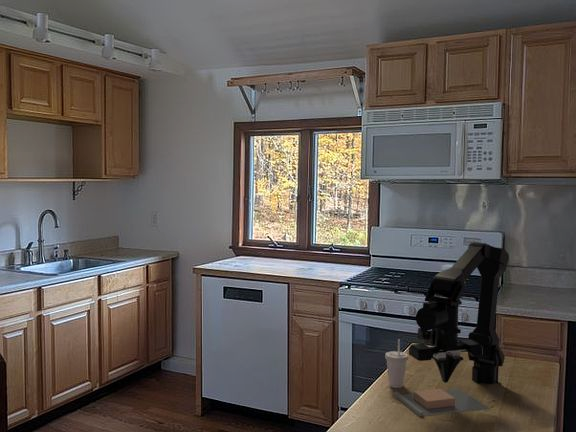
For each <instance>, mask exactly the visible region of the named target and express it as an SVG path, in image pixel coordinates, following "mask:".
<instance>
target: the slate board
mask: <svg viewBox="0 0 576 432" xmlns="http://www.w3.org/2000/svg"><path fill="white" fill-rule="evenodd" d="M443 390H444V391H445V392H447V393H448V394H449V395H451V396H452V397H454V398H455V406H450V407H441V408H432V409H426V408H425V407H424V406H422V405H421V404H420V403H418V402H417V401H416V400H415V399H414V393H409V394H401V393H400V392H399V391H394V393H393V394H394V396H393V397H395V398H396V399H397V400H399V401H400V402H401V403H402V404H404V405H405V407H407V408H408V409H409V410H410V411H412V412H413V413H414V414H416V415H417V416H418V417H419V418H422V417H431V416H440V415H446V414H454V413H455V414H456V413H465V412H470V411H471V412H473V411H480V410H490V409H491V407H489V406H487V405H486V404H484V403H482V401H480V400H478V399H477V398H475V397H473V396H471V394H469V393H467V392H466V391H464V390H463V389H461V388H455V389H443Z"/></svg>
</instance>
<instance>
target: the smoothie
mask: <svg viewBox="0 0 576 432" xmlns="http://www.w3.org/2000/svg"><path fill="white" fill-rule="evenodd" d="M400 348H401V339H400V338H398V339H397V351H395V350H393V351H391V350H390V351H388V352H385V356H384V358H385V359H386V367H387V376H388V386H389V387H390V388H395V389H400V388H403V387H404V383H405V375H406V369H407V361H408V360H409V354H408V353H406V352H403V351H401V349H400Z"/></svg>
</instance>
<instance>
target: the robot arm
mask: <svg viewBox="0 0 576 432" xmlns="http://www.w3.org/2000/svg"><path fill="white" fill-rule="evenodd" d="M467 247H468V248H467V249H466V250H465V251H464V252H463V254H462V255H461V256H460V257H458V259H457V260H456V262H455V263H454V264H453V265H452V266H451V267H450V268H447V269H445V270H444V269H443V270H441V271H440V272H438V273H437V274H436V275H435V276H434V277H433V279H432V280H431V283H430V285H429V288H428V290H427V292H426V295H425V296H424V297H425V298H424V302H423V303H422V307H421V308H419V309H418V310H417V311H416V314H415V322H416V324H417V326H418V328H417V339H418V340H419V341H424V342H423V343H413V344H411V345H410V346H409V347H408V356H410V357H412V358H414V359H415V360H417V361H419V362H421V361H422V362H423V361H424V362H425V361H426V362H427V361H431V360H432V359H433V360H434V362H435V364H436V366H437V369H438V372H439V374H440V377H441V380H442V382H443V383H448V382H449V381H450V378H451V377H452V376H453V375H452V374H453V373H454V371H455V369H456V368H457V367H458V365H459V363H460V362H461V361H464V357H463V356H461V353H466V352H467V357H468V360H469V361H472V362H473V366H472V370H471V381H473V382H475V383H476V384H483V385H484V384H485V385H492V384H493V385H494V384H495V383H497V384H498V385H500V386H502V383H501V382H500V381H499V367H503V366H504V365H503V364H504V362H505V356H506V355H505V354H504V353H503V351H502V349H501V347H500V338H499V336H498V334H497V331H496V330H495V326H496V325H495V324H496V315H497V306H498V296H499V295H498V294H499V292H498V291H499V284H500V278H501V277H502V276H503V275H504V273H505V272H506V271H507V267H508V263H509V260H510V255H509V253H508V251H507V250H506V249H505V248H504V247H495V246H492V245H490V244H488V243H486V242H477V241H473V242H470V243H469V245H468V246H467ZM476 269H477V271H478V272H479V275H480V285H479V286H480V288H479V298H478V307H477V309H478V310H477V318H476V327H475V328H474V329H473V331H472V332H471V331H470V332H469V333H468V335H467V336H468V339H464V340H463V339H462V340H458V339H459V337H458V336H459V335H458V334H461V333H462V331H461V328H459V306H460V305H462V304H463V302H462V300H461V297H462V295H463V294H464V292H465V290H466V288H467V287H466V281H467V280H468V279H469V277H470V276H471V275H472V274H473V272H475V270H476ZM427 344H429V345H431V346H430V347H429V346H428V345H427Z"/></svg>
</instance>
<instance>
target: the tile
mask: <svg viewBox="0 0 576 432" xmlns="http://www.w3.org/2000/svg"><path fill="white" fill-rule="evenodd" d="M444 390H445V389H442V388H435V389H424V390H415V391H413V394H414V399H415V400H416V401H417V402H418V403H420V404H421V405H422V406H424V407H425V408H426V409H432V408H441V407H450V406H455V398H454V397H452V396H451V395H449V394H448V393H447V392H445V391H444Z"/></svg>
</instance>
